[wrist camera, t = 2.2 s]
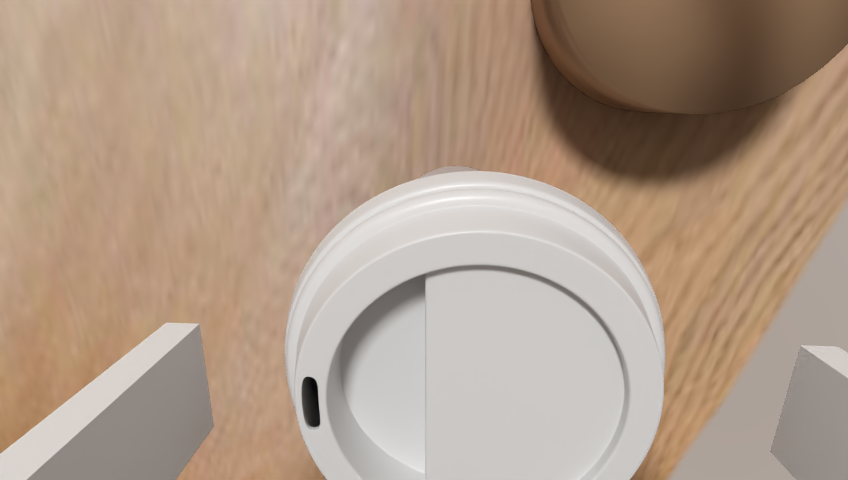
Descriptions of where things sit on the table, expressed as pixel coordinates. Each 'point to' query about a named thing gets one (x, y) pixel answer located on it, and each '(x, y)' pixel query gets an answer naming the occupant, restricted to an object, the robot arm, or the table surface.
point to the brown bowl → (689, 49)
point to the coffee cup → (475, 337)
